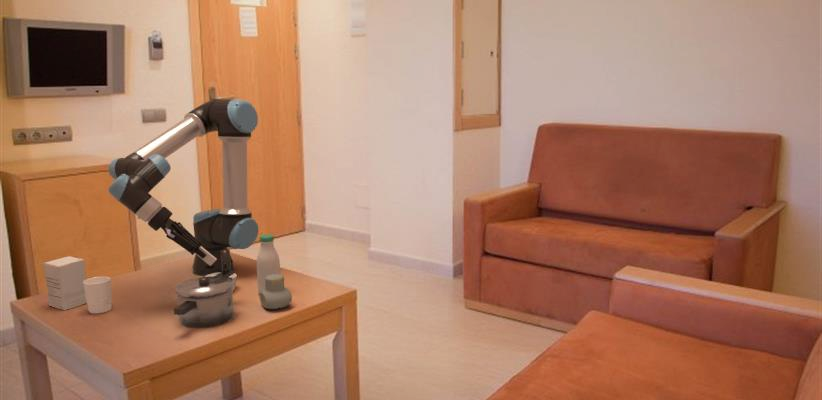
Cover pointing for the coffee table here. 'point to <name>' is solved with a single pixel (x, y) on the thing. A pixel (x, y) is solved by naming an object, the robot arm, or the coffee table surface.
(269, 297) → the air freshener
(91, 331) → the coffee table surface
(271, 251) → the milk bottle
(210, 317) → the pot
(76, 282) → the supplement box
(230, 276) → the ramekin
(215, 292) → the lid
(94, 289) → the white cup
